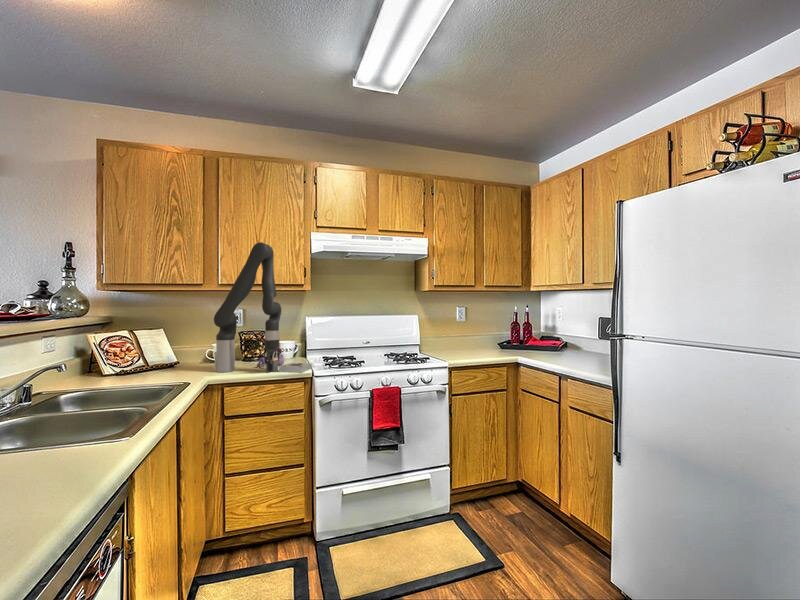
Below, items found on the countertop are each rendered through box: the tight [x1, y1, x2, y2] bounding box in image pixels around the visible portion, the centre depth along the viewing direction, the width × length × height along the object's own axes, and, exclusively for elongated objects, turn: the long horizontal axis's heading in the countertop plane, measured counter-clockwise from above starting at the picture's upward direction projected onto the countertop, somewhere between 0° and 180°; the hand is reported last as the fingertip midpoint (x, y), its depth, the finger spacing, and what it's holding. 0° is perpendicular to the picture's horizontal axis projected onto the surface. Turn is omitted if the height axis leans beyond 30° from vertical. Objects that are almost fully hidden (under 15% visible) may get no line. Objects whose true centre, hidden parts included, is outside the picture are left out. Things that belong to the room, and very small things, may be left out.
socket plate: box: [278, 362, 313, 374], centre depth 213 cm, size 13×13×3 cm
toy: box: [256, 346, 285, 368], centre depth 226 cm, size 10×15×15 cm
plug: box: [265, 358, 279, 373], centre depth 209 cm, size 4×4×7 cm
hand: (272, 370), depth 209 cm, fingers closed on plug, 4 cm apart
